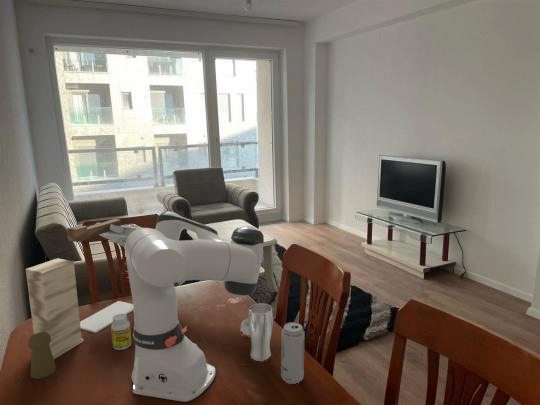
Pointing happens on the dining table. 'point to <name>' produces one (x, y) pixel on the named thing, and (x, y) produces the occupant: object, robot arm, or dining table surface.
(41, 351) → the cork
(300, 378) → the energy drink can
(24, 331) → the dining table surface
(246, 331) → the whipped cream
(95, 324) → the mat
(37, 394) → the dining table surface
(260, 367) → the dining table surface
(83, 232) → the mallet
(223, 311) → the dining table surface
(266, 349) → the beer glass
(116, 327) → the supplement bottle
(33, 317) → the stand
